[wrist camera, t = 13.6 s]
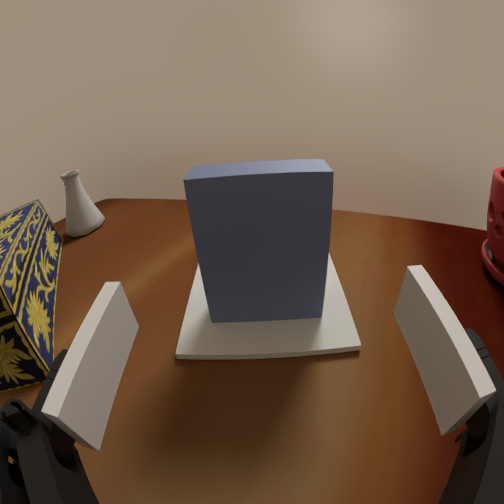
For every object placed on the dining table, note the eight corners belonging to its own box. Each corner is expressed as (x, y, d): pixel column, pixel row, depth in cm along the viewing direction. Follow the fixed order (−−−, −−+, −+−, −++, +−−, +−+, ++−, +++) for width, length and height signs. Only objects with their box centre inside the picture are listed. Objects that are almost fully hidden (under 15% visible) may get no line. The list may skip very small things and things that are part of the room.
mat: (359, 350, 20) (361, 345, 20) (177, 358, 21) (175, 354, 21) (315, 223, 38) (315, 219, 38) (210, 229, 39) (209, 225, 38)
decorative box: (64, 239, 41) (47, 190, 36) (57, 382, 19) (0, 303, 14) (14, 260, 37) (-5, 213, 32) (-21, 403, 14) (-77, 337, 10)
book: (321, 317, 23) (333, 171, 16) (211, 322, 23) (183, 179, 17) (316, 293, 25) (322, 158, 19) (215, 298, 26) (193, 166, 19)
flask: (88, 239, 40) (69, 178, 34) (59, 238, 41) (41, 183, 36) (112, 217, 46) (98, 162, 40) (83, 218, 47) (69, 168, 42)
